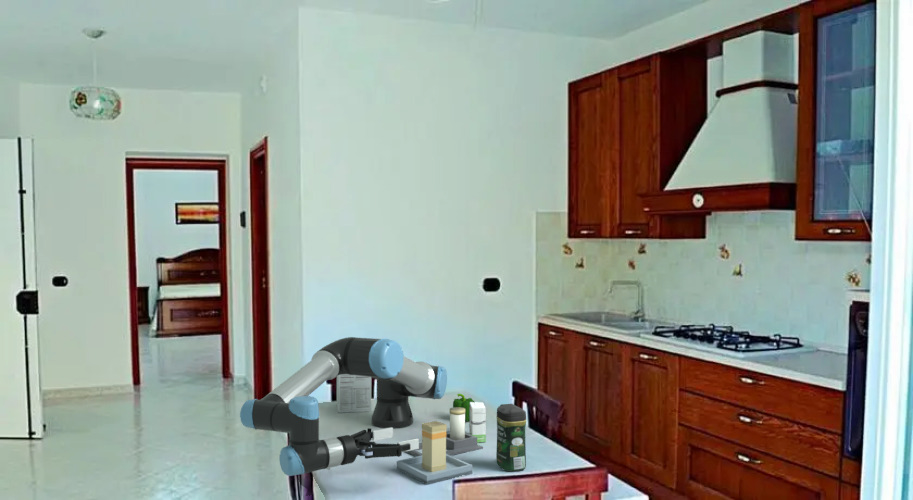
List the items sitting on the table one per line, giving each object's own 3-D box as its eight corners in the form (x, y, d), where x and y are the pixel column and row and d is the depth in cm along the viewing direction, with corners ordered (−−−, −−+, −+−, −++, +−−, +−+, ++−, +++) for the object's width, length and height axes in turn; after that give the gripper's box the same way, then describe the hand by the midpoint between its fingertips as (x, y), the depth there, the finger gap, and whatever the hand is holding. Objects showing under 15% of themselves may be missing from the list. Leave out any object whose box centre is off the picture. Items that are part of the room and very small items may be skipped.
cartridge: (446, 444, 237) (446, 408, 236) (458, 442, 240) (459, 406, 239) (455, 448, 232) (455, 411, 232) (468, 445, 235) (468, 409, 235)
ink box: (486, 442, 239) (486, 407, 239) (471, 442, 239) (471, 407, 239) (483, 435, 248) (483, 401, 248) (468, 435, 248) (469, 401, 247)
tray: (396, 469, 212) (396, 460, 211) (440, 459, 221) (440, 451, 221) (426, 484, 199) (426, 475, 199) (472, 473, 208) (472, 465, 208)
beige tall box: (421, 467, 210) (421, 423, 210) (436, 464, 213) (436, 420, 213) (431, 472, 206) (431, 427, 206) (446, 468, 209) (446, 424, 209)
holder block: (399, 448, 232) (399, 439, 232) (454, 437, 245) (454, 428, 245) (425, 461, 219) (425, 451, 219) (482, 448, 233) (482, 439, 233)
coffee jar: (492, 463, 218) (493, 402, 217) (516, 461, 220) (517, 401, 220) (504, 473, 208) (505, 410, 208) (529, 470, 211) (530, 408, 211)
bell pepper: (478, 418, 270) (478, 392, 270) (471, 424, 262) (471, 397, 262) (457, 416, 273) (457, 390, 273) (449, 422, 265) (450, 395, 265)
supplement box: (371, 411, 280) (372, 367, 280) (337, 413, 277) (337, 368, 277) (368, 403, 293) (368, 361, 293) (336, 405, 290) (336, 362, 290)
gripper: (317, 453, 202) (382, 440, 214) (360, 478, 182) (429, 462, 194) (317, 426, 202) (382, 415, 214) (360, 449, 182) (429, 434, 194)
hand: (405, 437), depth 204 cm, fingers open, 13 cm apart
